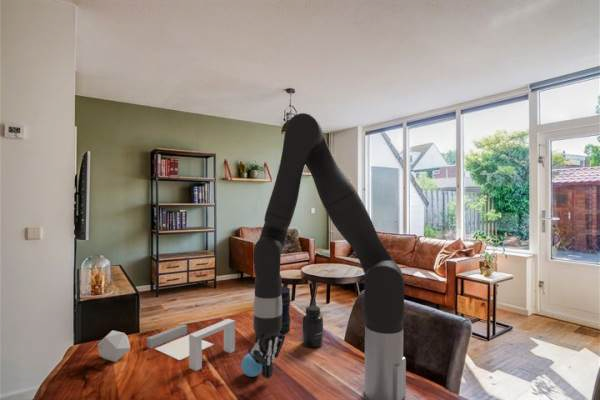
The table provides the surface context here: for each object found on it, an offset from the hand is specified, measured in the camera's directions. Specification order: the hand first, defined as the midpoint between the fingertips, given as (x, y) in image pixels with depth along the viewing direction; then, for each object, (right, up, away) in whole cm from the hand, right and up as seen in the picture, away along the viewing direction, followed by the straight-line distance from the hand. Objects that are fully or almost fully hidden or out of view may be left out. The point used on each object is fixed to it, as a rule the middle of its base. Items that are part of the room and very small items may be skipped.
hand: (267, 376), depth 90 cm
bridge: (-18, -2, +13) cm, 22 cm away
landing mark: (-29, -1, +21) cm, 36 cm away
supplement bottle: (+13, -2, +23) cm, 27 cm away
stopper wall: (-36, -1, +26) cm, 45 cm away
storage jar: (0, -1, +35) cm, 35 cm away
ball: (-5, +1, +4) cm, 6 cm away
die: (-48, -2, +14) cm, 50 cm away
